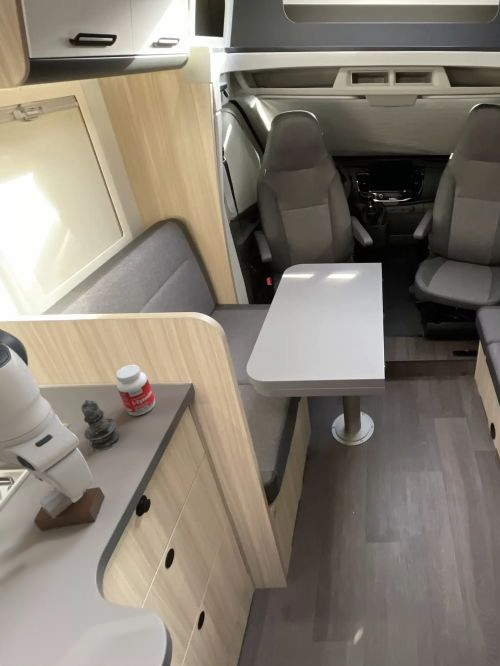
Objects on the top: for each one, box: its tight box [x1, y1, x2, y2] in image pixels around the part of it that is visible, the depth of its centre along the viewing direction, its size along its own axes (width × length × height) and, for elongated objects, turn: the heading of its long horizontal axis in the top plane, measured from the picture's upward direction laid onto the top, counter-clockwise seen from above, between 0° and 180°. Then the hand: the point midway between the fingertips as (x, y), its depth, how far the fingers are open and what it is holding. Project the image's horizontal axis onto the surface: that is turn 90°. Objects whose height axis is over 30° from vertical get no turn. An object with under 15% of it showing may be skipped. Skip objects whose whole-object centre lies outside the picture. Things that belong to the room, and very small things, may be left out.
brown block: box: [33, 486, 106, 532], centre depth 81 cm, size 9×5×3 cm, turn 101°
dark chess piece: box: [81, 399, 120, 451], centre depth 93 cm, size 6×6×12 cm
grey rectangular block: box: [38, 488, 86, 519], centre depth 79 cm, size 6×2×4 cm, turn 153°
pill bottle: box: [115, 364, 156, 417], centre depth 101 cm, size 6×6×11 cm
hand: (59, 487), depth 78 cm, fingers open, 8 cm apart
